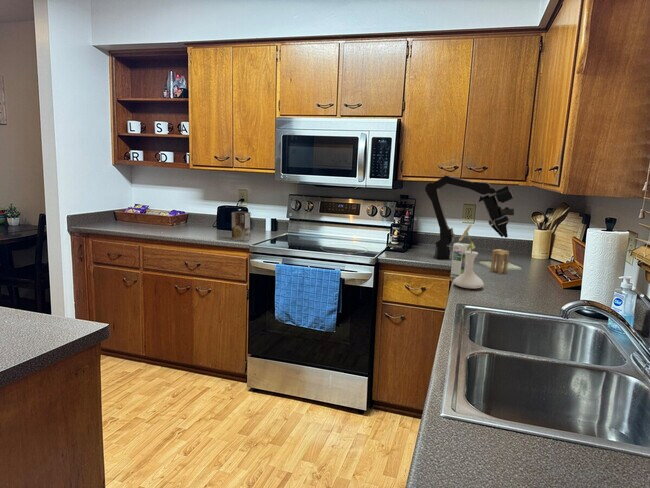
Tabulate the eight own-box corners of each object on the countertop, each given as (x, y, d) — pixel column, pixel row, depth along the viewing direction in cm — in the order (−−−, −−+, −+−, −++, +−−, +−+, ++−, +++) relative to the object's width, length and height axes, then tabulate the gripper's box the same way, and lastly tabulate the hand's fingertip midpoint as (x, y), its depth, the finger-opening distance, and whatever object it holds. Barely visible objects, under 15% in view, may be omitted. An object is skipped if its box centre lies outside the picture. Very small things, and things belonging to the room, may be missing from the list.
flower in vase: (461, 281, 187) (467, 220, 183) (488, 287, 179) (495, 224, 175) (445, 287, 178) (450, 222, 173) (472, 293, 170) (479, 226, 166)
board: (493, 269, 212) (493, 267, 212) (479, 263, 226) (479, 261, 226) (521, 270, 214) (521, 268, 214) (505, 263, 228) (506, 261, 228)
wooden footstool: (490, 271, 208) (492, 250, 206) (497, 270, 211) (499, 249, 209) (500, 274, 204) (502, 252, 202) (506, 273, 207) (509, 251, 205)
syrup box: (449, 277, 194) (452, 243, 192) (457, 275, 199) (460, 242, 196) (462, 279, 190) (465, 245, 188) (469, 277, 195) (472, 244, 192)
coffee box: (250, 239, 267) (251, 212, 265) (244, 241, 262) (245, 213, 259) (237, 238, 271) (237, 211, 268) (231, 239, 265) (231, 211, 262)
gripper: (513, 199, 211) (526, 231, 210) (504, 201, 229) (516, 230, 229) (489, 208, 213) (502, 240, 212) (483, 209, 231) (494, 238, 231)
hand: (504, 237), depth 221 cm, fingers open, 9 cm apart
